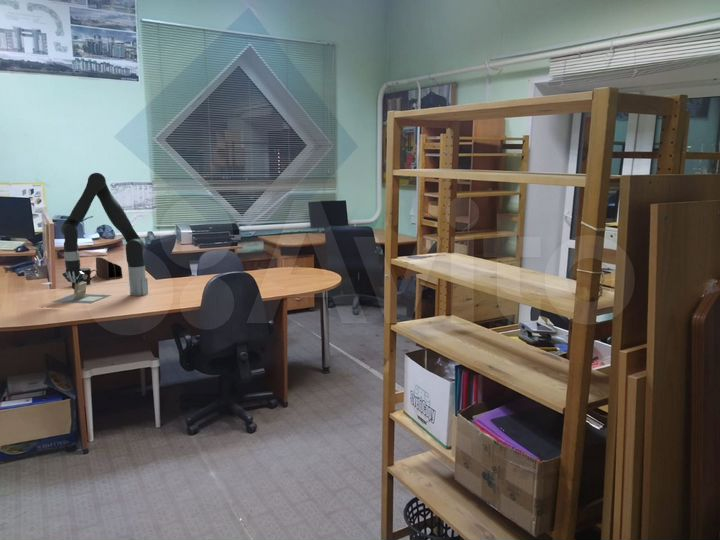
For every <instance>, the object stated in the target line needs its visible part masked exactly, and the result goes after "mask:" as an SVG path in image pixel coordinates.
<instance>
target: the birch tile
mask: <svg viewBox="0 0 720 540" xmlns="http://www.w3.org/2000/svg"><path fill="white" fill-rule="evenodd" d="M87 286H88V285H87V282H84V281H82V282H78V283H76V284H75V289H73V294H74V297H73V299H76V300H78V299H81V298H84V297H85V294H87V293H86V292H87Z"/></svg>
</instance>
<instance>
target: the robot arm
mask: <svg viewBox="0 0 720 540" xmlns="http://www.w3.org/2000/svg"><path fill="white" fill-rule="evenodd" d="M106 179H107V178H106V177H105V175H103V174H102V173H100V172H93V173H91V174H89V176H88V178H87V182H86V185H85V188H84V190H83V192H82V193H81V196H80V197H79V198H78V201H76V204H75V205H74V207H73V208H72V210H71V212H70V214H69V215H68V217H67V218H66V219H65V221H64V222H63V224H62V226H61V227H60V231H61V233H62V235H63V237H64V242H63V252H64V254H63V255H64V256H63V257H64V265H65V268H66V269H65V271H64V272H63V273H62V276H63V278H65V279H66V281H67V282H68V283H71V287H72V290H74V289H75V284H76V283H79V281H81V280H82V278H83V277H84V275H85V273H82V272H81V269H80V268H81V259H80V251H79V245H78V240H79V239H78V237H79V233H78V228H77V227H78V226H79V225H80V223H82V222H83V220H84V219H85V218H86V216H87V214H88V212H89V210H90V208H91V206H92V203H93V201H94V199H95V198H96V196H97V199H98V200H99V203H101V206H102V208H103V210H104V213H105V214H106V216H107V217H108V220H109V221H110V222H111V224H112V225H113V226H114V228H116V229H117V231H119V233H120V234H121V235H122V236H123V238H124V240H125V242H126V244H125V255H126V256H125V258H126V263H127V267H128V281H129V282H128V283H129V293H130V294H129V295H130V296H134V297H138V296H145V295H147V294H149V283H148V277H147V274H146V264H145V260H144V252H143V251H144V250H145V243H144V242H143V240H142V239H141V237H140V236H139V234H138V233H137V232H136V230H135V229H134V227H133V225H132V223H131V221H130V219H129V218H128V216H127V214H126V212H125V211H124V209H123V207H122V206H121V204H120V203H119V201H118V200H117V199H116V198H115V197H114V196H113V194H112V192H111V191H110V189H109V186H108V185H107V180H106Z"/></svg>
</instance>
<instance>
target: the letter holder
mask: <svg viewBox="0 0 720 540" xmlns="http://www.w3.org/2000/svg"><path fill="white" fill-rule="evenodd" d="M122 269H123V268H122V266H121V265H119V264H117V263H113V262H112V261H110V260H107V259H105V258H103V257H99V256H98V257H95V270H96V271H97V275H96V277H98V276H99V277H98V278H101V279H104V280H107V281H110V280H117V279H123V278H124V277H123V270H122ZM96 271H95V272H96Z"/></svg>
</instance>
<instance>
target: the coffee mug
mask: <svg viewBox="0 0 720 540" xmlns="http://www.w3.org/2000/svg"><path fill="white" fill-rule="evenodd" d="M80 269H81V272H82V273H85V275H84V277H83V278H82V280H81V281H79V282H82V281H84V282H87V285H86V286H89V285H91V280H92V279H94V278H95V277H97V271H96V269H92V270H91V268H90V267H82V268H81V267H80ZM92 272H95V275H93V276H92V277H91V274H92ZM79 282H78V283H79Z"/></svg>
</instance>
